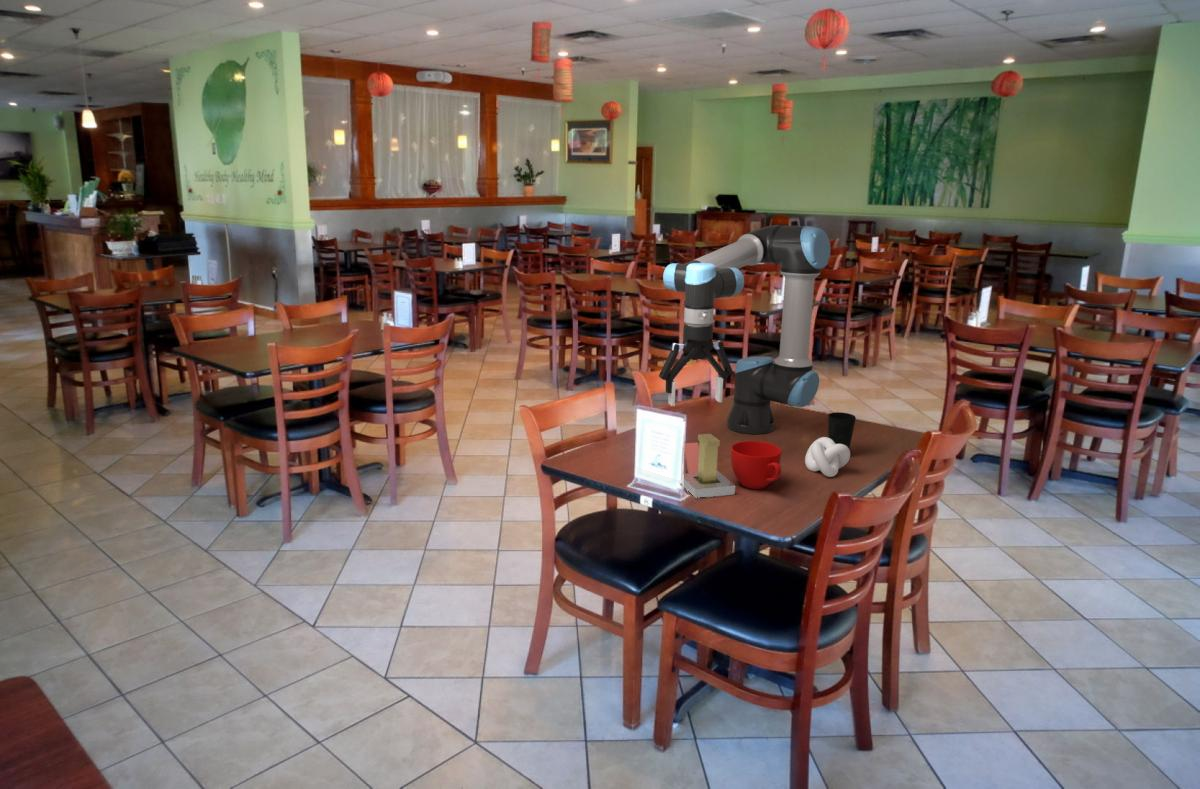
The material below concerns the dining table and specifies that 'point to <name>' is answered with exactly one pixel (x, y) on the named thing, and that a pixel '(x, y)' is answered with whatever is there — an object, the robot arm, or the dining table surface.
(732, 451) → the ceramic cup
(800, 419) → the dining table surface
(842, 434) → the cup
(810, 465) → the white knot
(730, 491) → the socket block
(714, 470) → the khaki tall block
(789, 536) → the dining table surface
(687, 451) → the reddish flat block
